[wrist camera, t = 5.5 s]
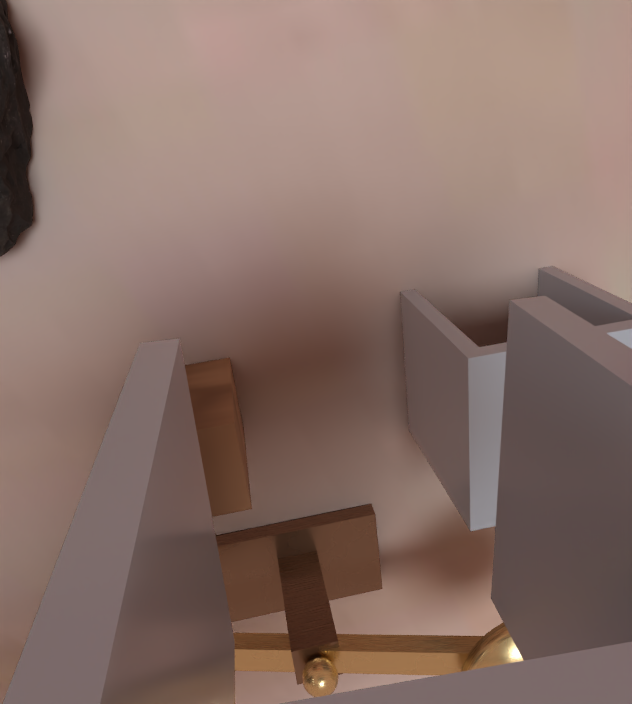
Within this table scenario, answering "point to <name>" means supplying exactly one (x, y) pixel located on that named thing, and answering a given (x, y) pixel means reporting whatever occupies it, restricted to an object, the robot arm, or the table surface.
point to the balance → (314, 610)
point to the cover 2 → (478, 388)
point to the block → (220, 435)
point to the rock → (13, 140)
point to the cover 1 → (205, 568)
